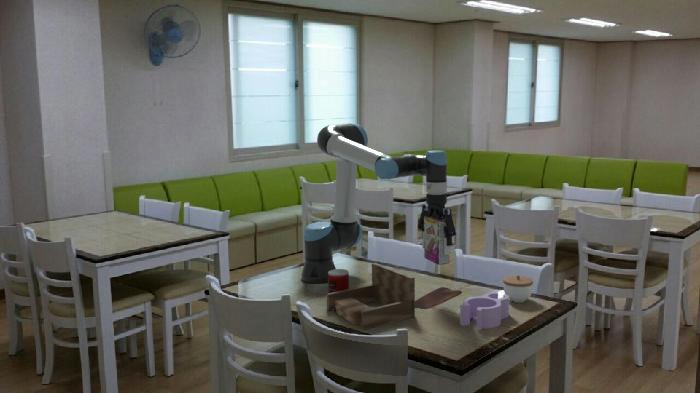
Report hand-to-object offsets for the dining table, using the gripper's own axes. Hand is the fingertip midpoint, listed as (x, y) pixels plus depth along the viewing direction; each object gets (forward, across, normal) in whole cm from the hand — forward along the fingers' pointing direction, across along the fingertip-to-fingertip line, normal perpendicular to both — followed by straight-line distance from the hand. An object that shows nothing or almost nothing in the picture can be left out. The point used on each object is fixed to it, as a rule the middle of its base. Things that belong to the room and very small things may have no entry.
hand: (436, 251), depth 237 cm
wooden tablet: (+20, -1, 0) cm, 20 cm away
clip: (+19, +26, 0) cm, 32 cm away
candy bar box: (+4, 0, 0) cm, 4 cm away
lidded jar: (+19, +18, +24) cm, 35 cm away
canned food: (+19, -21, -30) cm, 41 cm away
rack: (+19, -2, -28) cm, 34 cm away
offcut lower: (+19, -2, -35) cm, 40 cm away
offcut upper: (+17, -2, -36) cm, 39 cm away
